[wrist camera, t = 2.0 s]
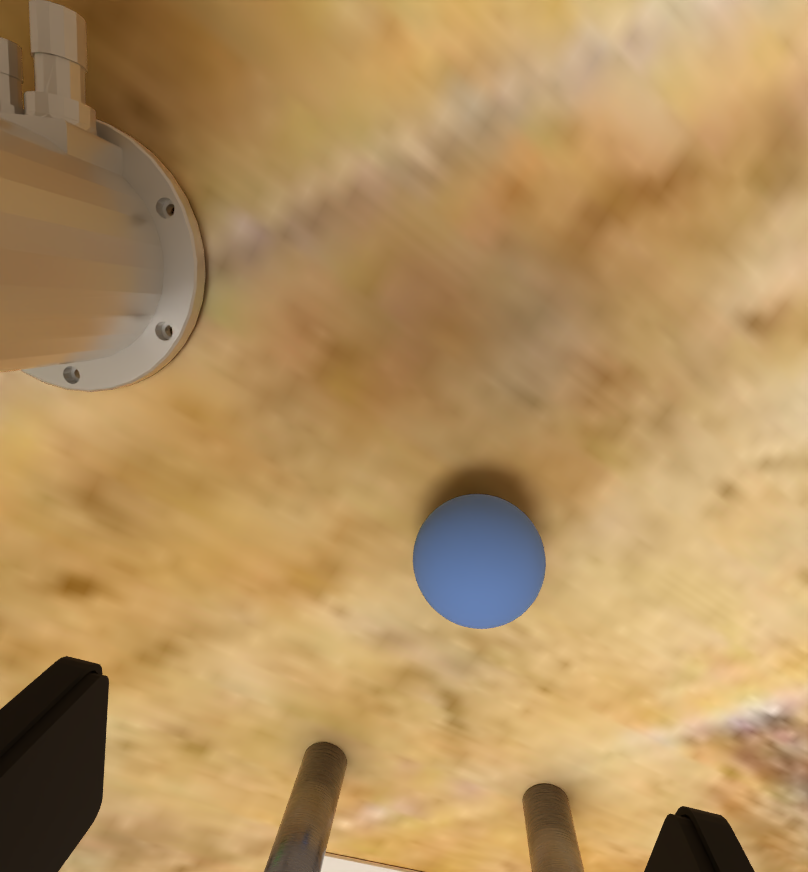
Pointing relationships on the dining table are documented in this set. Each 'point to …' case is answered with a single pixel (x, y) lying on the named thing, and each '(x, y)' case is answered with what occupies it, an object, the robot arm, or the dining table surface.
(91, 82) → the dining table surface
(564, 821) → the post
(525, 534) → the ball
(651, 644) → the dining table surface
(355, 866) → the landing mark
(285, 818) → the post
